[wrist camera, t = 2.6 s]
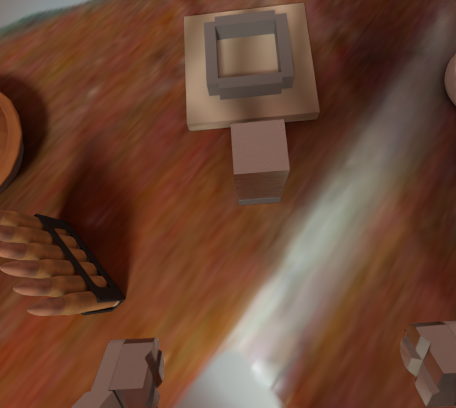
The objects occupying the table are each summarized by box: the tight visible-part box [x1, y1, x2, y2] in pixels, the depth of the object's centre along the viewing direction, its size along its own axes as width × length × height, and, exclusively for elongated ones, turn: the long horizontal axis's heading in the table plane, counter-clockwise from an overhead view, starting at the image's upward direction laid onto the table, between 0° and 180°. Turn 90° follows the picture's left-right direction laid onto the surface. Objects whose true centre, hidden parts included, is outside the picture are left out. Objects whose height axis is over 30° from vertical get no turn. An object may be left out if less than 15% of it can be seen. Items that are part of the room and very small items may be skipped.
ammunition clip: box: [0, 210, 125, 316], centre depth 26 cm, size 11×2×12 cm, turn 42°
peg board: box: [184, 3, 320, 131], centre depth 34 cm, size 14×14×4 cm
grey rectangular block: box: [231, 119, 290, 206], centre depth 27 cm, size 4×4×10 cm
